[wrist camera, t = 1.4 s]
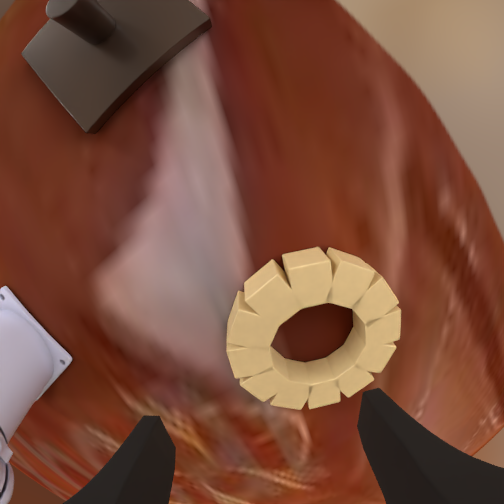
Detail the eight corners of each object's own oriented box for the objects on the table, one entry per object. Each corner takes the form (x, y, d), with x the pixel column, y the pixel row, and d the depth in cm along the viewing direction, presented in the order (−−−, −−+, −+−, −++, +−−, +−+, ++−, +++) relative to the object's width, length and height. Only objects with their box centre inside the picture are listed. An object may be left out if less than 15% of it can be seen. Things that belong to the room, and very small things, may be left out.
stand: (95, 134, 14) (37, 129, 9) (30, 57, 12) (-23, 39, 7) (212, 26, 13) (201, -27, 7) (127, -37, 11) (98, -81, 5)
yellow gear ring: (295, 405, 21) (300, 428, 18) (194, 323, 18) (189, 344, 16) (407, 323, 19) (423, 340, 17) (327, 211, 16) (341, 219, 14)
